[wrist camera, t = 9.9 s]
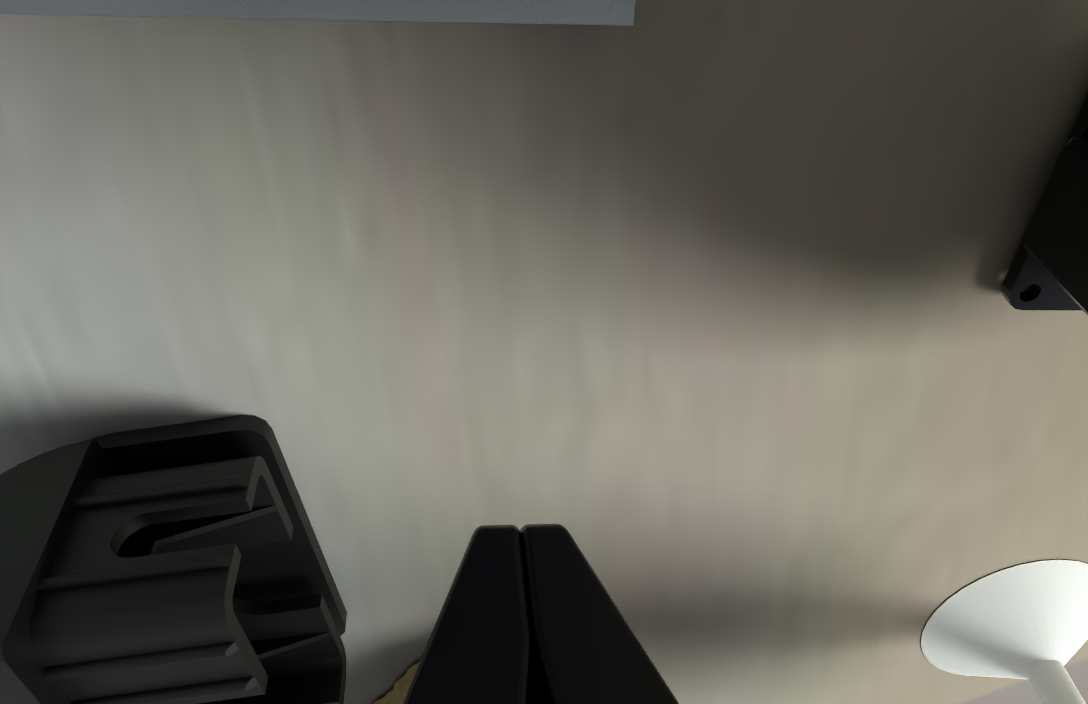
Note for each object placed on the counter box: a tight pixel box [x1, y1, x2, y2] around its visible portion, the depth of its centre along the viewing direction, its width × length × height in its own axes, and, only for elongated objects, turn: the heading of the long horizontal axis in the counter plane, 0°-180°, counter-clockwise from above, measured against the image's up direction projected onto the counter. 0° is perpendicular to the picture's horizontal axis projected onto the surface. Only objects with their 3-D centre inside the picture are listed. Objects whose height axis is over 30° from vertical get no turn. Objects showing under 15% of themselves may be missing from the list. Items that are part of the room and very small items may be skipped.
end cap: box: [0, 415, 347, 704], centre depth 23 cm, size 10×7×7 cm
